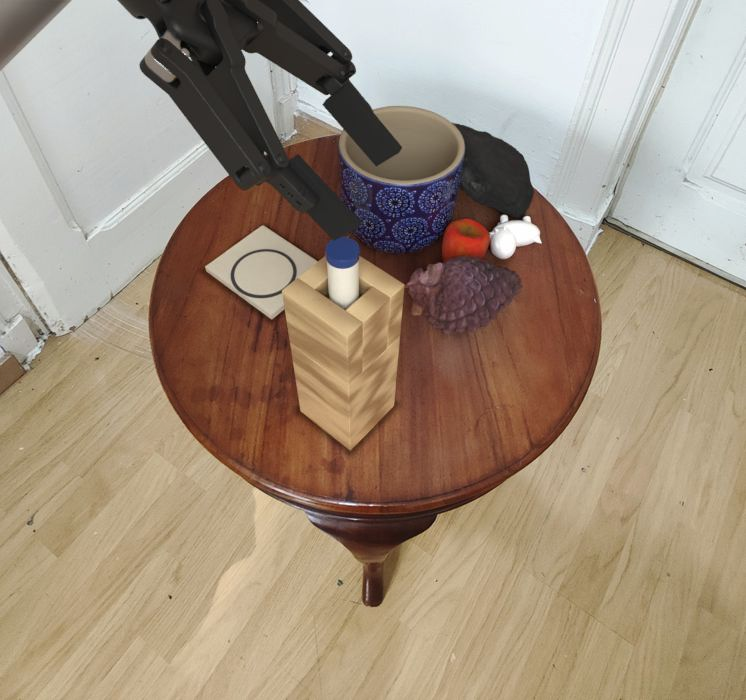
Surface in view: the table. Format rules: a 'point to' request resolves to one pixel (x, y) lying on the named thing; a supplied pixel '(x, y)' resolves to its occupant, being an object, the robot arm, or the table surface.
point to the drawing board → (261, 269)
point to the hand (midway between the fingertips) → (369, 192)
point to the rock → (495, 173)
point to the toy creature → (512, 236)
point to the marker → (343, 271)
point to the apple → (465, 240)
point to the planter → (404, 181)
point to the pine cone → (462, 293)
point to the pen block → (345, 350)
